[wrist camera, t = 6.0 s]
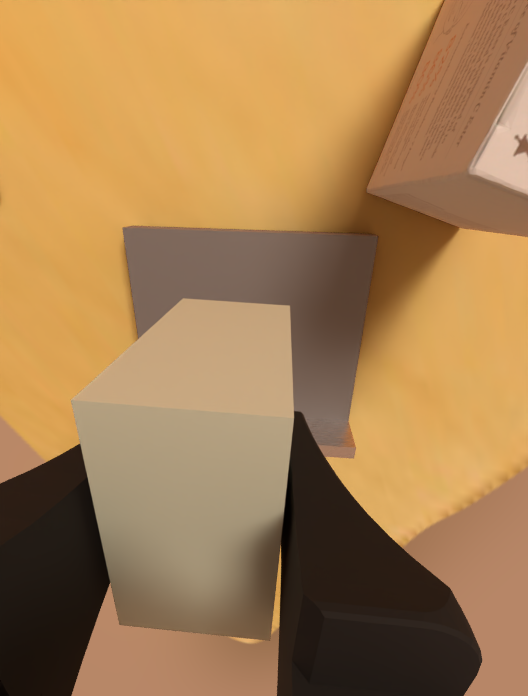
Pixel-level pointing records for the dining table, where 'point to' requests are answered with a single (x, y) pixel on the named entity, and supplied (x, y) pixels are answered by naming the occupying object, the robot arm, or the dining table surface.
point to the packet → (194, 467)
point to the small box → (465, 122)
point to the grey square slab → (271, 301)
